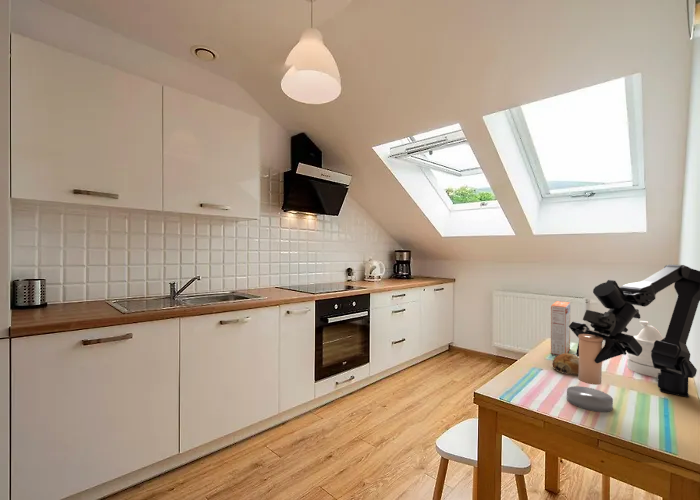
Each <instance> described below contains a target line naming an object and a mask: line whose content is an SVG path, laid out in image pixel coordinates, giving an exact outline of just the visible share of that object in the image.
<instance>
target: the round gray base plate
mask: <svg viewBox="0 0 700 500" xmlns="http://www.w3.org/2000/svg"><path fill="white" fill-rule="evenodd" d="M566 400H567V401H568V402H569V403H570V404H572V405H573V406H576V407H578V408H581V409H583V410H587V411H591V412H598V413H608V412H611V411H613V407H614V405H613V404H614V399H613V397H612V396H611V395H610V394H608V393H606V392H604V391H601V390H599V389H595V388H592V387H586V386H579V385H578V386H577V385H576V386H568V387H567V389H566Z"/></svg>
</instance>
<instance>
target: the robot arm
mask: <svg viewBox="0 0 700 500" xmlns="http://www.w3.org/2000/svg"><path fill="white" fill-rule="evenodd" d="M671 285H674V290H675V292H676V294H677V298H676V302H675V305H674V308H673V311H672V315H671V316H670V317H671V318H670V321H669V324H668V327H667V330H666V332H665V333H666V334H665V337H663V338H664V339H662V340H661V341H658V340H656V341H655V342H654V347H653V349H652V351H651V352H652V353H651V358H652V362H653V366H654V368H657V369H660V373H658V377H657V388H659V391H660V392H662V393H666V394H671V395H675V396H681V397H685V398H690V394H689V378H690V379H693V378H695V377H696V375H697V373H698V370H697V368H696V367H695V366H694V364H693V363H692V362H691V353H690V351H689V347H688V346H687V342H688V338H689V336H690V333H691V329H692V326H693V323H694V320H695V316H696V313H697V309H698V306H699V304H700V270H698V269H694V268H691V267H690V266H687V265H684V264H672V263H671V264H666V265H665V266H664V268H662V269H660V270H658V271H657V272H655V273H653V274H651V275H650V276H648V277H646V278H645V279H643V280H641V281H637V282H634V281H633V282H630V283H626V284H623V285H621V286H619V284H618V283H617V281H616V280H612V279H608V280H607V281H606V282H602V283H600V284H598V285H595V287H594V288H593V290H592V292H593V294H594V296H595V297H596V298H597V299H598V301H599V302H600V303H601V305H602V306H603V307H604V308H606V309H608V311H605V312H604V313H603V312H598V311H593V310H589V309H586V310H585V311H584V315H583V318H582V321H584V322H588V323H589V326H590V327H591V328H592V329H590V327H588V325H587V324H586V323H584V322H580V321H571V322H570V325H569V328H570V331H572V333H573V334H574V335H575V336H576V337H577V338H578V335H579V334H591V335H597V336H600V337H602V338H603V341H604V345H603V346H602V350H601V351H600V352H599V354H598V355H597V357H596V358H595V360H594V361H595V362H596V363H600V362H602V363H603V362H605V361H608V360H610V359H612V358H615V357H619V356H622V355H624V356H626V355H628V353H629V354H632V355H635V356H639V355H640V354H641V352H642V346H641V345H640V344H639V343H638V341H637V340H636V339H635V338H634V336H635V335H630V334H626V333H627V332H628V331H629V329H628V328H627V327H628V325H629V323H631V322H632V319H633V318H634V319H638V320H639V319H641V314H640V313H639V312H640V311H639V309H638V308H635V306H639V307H643V308H644V307H647V306H649V305H651V303H653V302H654V301H656V295H657V294H658V293H660V292H661V291H663V290H664V289H667V288H669V287H670V286H671ZM575 356H577V357H578V358H579V342H578V343H577V348H576V353H575Z"/></svg>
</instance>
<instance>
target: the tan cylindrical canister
mask: <svg viewBox="0 0 700 500" xmlns="http://www.w3.org/2000/svg"><path fill="white" fill-rule="evenodd" d="M577 338H578V343H579V357H578V358H579V371H578V375H577V379H578V380H579V382H582V383H585V384H589V385H594V386H595V385H597V386H598V385H601V384H602V369H603V368H602V366H603V364H602V363H603V361H602V362H600V363H596V362H595V361H594V360H595V358H596V357H597V355H598V354H599V352H600V351H601V350H602V348H603V342H604V340H603V338H602V337H600V336H597V335H591V334H579V335H578V337H577Z"/></svg>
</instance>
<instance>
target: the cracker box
mask: <svg viewBox="0 0 700 500" xmlns="http://www.w3.org/2000/svg"><path fill="white" fill-rule="evenodd" d="M570 324H571V302H570V301H569V302H567V301H561V300H560V301H558V300H556V301H555V302H554V303H552V304H551V306H550V354H551V355H556V356H559V355H560V354H564V353H569V351H570V348H571V329H570V328H569V325H570Z"/></svg>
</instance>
